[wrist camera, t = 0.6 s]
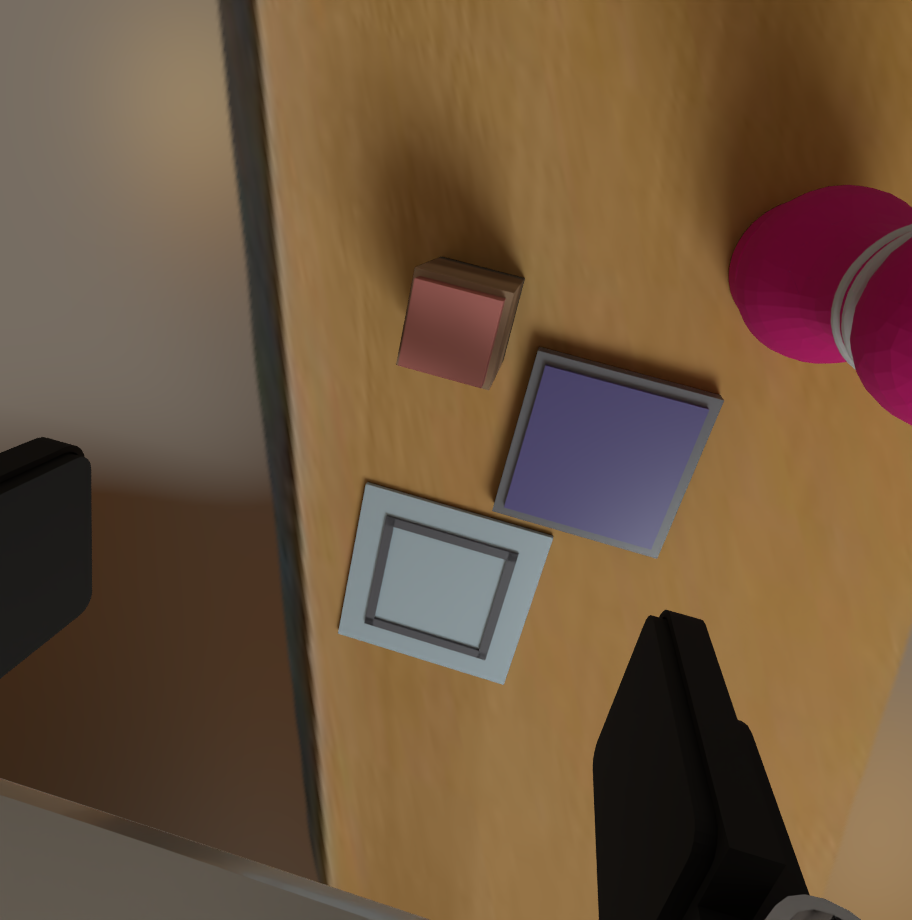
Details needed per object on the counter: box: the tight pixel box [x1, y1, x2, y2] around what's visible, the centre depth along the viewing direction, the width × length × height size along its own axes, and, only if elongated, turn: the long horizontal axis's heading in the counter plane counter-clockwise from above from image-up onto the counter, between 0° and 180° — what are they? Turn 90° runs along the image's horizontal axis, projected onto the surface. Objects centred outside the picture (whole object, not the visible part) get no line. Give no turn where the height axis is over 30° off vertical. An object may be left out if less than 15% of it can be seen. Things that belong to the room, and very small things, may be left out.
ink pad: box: [492, 347, 724, 559], centre depth 36 cm, size 10×10×1 cm
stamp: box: [396, 257, 525, 390], centre depth 31 cm, size 5×5×7 cm
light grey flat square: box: [338, 482, 553, 685], centre depth 41 cm, size 12×12×1 cm
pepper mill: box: [729, 185, 912, 425], centre depth 22 cm, size 7×7×20 cm
